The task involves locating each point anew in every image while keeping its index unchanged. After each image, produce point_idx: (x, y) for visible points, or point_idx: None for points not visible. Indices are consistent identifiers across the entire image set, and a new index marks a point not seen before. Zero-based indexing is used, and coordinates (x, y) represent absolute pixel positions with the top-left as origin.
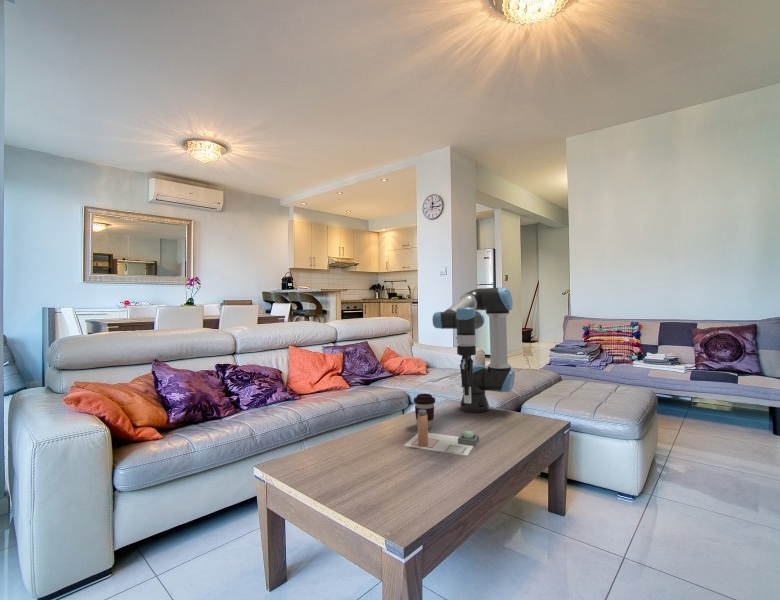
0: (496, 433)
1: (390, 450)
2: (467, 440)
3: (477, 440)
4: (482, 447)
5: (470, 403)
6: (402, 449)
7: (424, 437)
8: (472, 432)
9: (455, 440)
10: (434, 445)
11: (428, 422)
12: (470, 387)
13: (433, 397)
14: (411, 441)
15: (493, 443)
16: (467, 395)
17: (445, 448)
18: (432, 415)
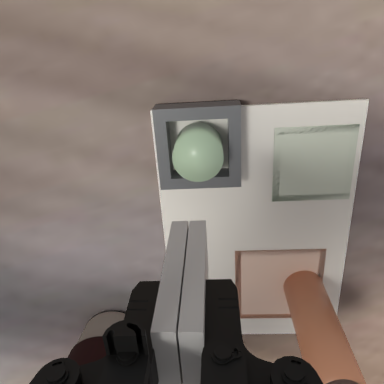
0: (5, 49)
1: (378, 350)
2: (240, 141)
3: (188, 104)
4: (231, 65)
5: (205, 220)
6: (358, 325)
7: (329, 299)
8: (197, 137)
9: (209, 196)
10: (298, 249)
11: None
12: (182, 329)
13: None
14: (285, 325)
15: (154, 26)
16: (232, 285)
17: (314, 205)
18: (104, 352)
